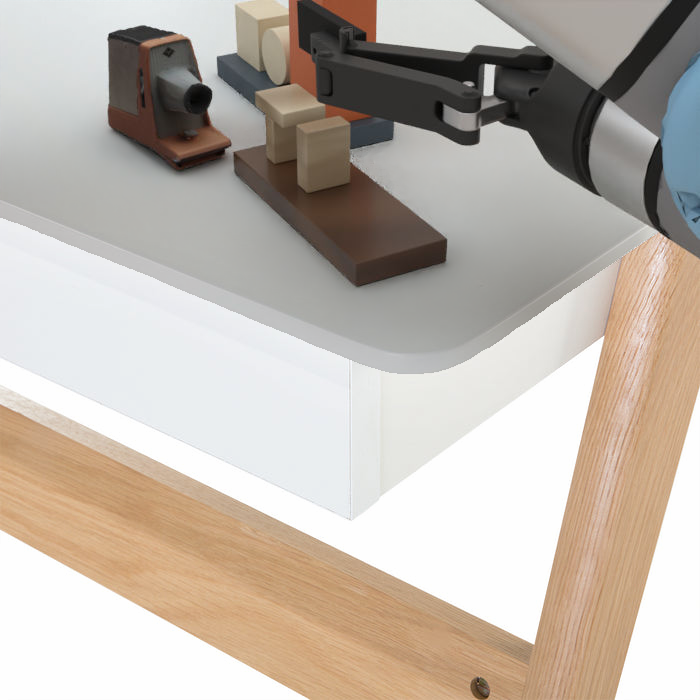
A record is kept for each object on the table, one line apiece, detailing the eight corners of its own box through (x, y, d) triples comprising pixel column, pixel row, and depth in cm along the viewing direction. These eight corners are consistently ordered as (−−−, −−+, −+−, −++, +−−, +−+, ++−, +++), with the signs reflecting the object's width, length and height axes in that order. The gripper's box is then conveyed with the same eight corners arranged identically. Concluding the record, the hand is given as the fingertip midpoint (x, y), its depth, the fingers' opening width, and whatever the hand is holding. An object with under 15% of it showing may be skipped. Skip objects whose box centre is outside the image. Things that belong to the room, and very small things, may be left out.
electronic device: (178, 176, 80) (169, 65, 76) (105, 129, 86) (93, 24, 82) (234, 158, 82) (229, 49, 78) (159, 114, 89) (150, 11, 85)
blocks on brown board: (446, 261, 71) (451, 175, 68) (356, 287, 69) (356, 198, 66) (314, 153, 83) (313, 76, 80) (233, 172, 81) (229, 93, 78)
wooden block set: (393, 138, 85) (395, 62, 82) (316, 156, 83) (316, 78, 80) (287, 61, 97) (285, -8, 94) (217, 75, 95) (213, 4, 92)
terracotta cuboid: (375, 116, 85) (379, -110, 76) (323, 127, 83) (321, -102, 75) (340, 91, 88) (340, -127, 80) (290, 101, 87) (285, -120, 78)
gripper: (415, 268, 55) (217, 105, 70) (821, 143, 64) (569, 24, 80) (418, 109, 50) (206, -27, 66) (851, 1, 60) (579, -95, 76)
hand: (405, 1), depth 73 cm, fingers open, 13 cm apart
